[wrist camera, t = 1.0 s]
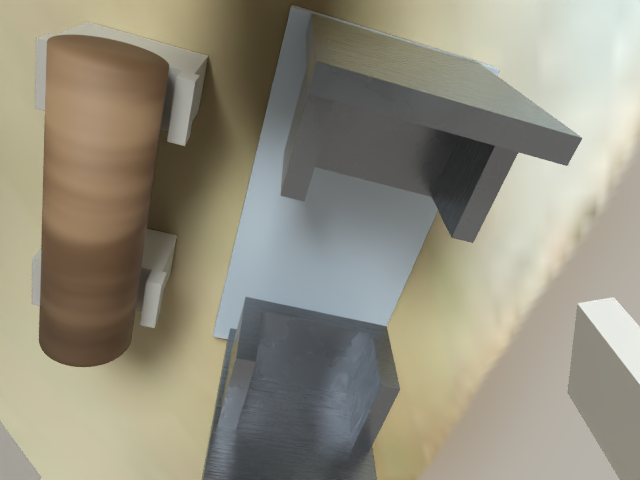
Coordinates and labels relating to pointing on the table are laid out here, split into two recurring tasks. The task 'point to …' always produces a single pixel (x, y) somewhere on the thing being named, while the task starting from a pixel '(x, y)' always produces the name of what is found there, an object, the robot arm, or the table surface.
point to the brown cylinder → (96, 192)
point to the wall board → (320, 220)
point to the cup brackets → (384, 168)
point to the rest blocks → (177, 122)
